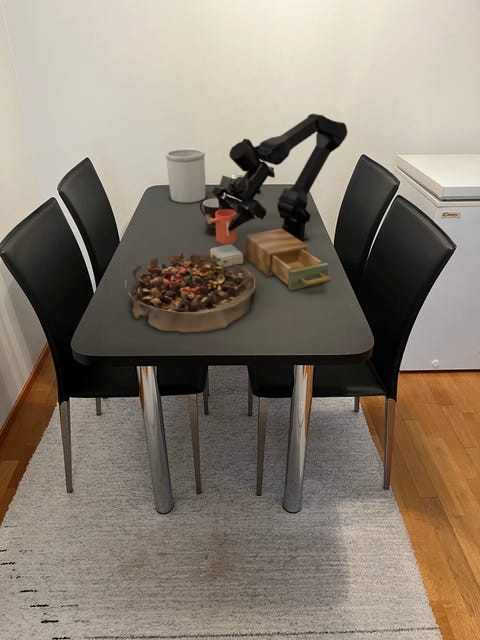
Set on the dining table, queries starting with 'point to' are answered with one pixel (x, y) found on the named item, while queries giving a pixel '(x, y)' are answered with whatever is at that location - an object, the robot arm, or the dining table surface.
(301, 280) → the drawer
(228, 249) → the kitchen scale
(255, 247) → the cabinet
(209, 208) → the coffee mug
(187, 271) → the food dish
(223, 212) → the red mug
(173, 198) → the utensil holder
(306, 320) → the dining table surface
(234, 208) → the beer glass
